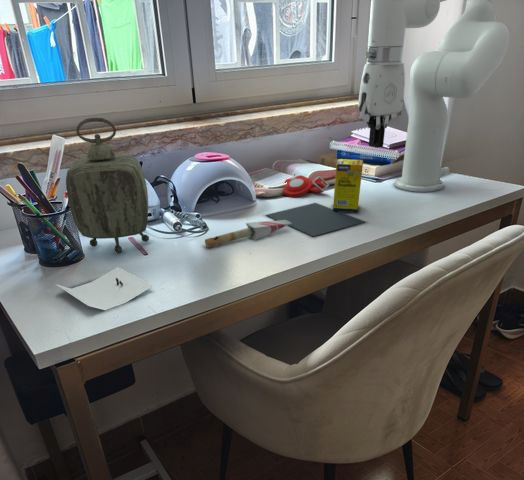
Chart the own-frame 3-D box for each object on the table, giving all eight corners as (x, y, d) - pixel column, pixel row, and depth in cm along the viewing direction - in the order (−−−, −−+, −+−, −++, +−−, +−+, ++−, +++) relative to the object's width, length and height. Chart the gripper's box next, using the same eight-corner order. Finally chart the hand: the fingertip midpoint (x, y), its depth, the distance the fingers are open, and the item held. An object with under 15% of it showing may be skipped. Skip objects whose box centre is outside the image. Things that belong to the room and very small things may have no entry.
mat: (315, 203, 125) (315, 202, 125) (365, 222, 113) (365, 221, 113) (266, 215, 119) (266, 214, 118) (313, 237, 106) (313, 236, 106)
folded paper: (154, 291, 86) (152, 281, 85) (90, 316, 79) (88, 305, 78) (118, 272, 94) (116, 262, 93) (57, 293, 87) (54, 283, 86)
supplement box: (357, 213, 118) (362, 164, 112) (332, 211, 119) (335, 163, 113) (358, 206, 123) (363, 159, 117) (334, 204, 124) (337, 158, 118)
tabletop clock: (154, 238, 108) (135, 112, 94) (154, 254, 100) (133, 119, 87) (86, 244, 106) (56, 116, 92) (80, 261, 99) (47, 124, 85)
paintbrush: (293, 217, 107) (209, 240, 100) (294, 229, 109) (211, 252, 102) (284, 212, 110) (201, 234, 103) (284, 224, 112) (203, 246, 104)
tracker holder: (284, 194, 129) (276, 176, 135) (287, 209, 132) (280, 190, 139) (329, 180, 128) (319, 162, 135) (331, 195, 132) (321, 177, 138)
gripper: (371, 58, 101) (363, 153, 111) (421, 55, 108) (409, 145, 118) (346, 57, 107) (341, 148, 117) (396, 54, 114) (386, 140, 123)
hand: (375, 146), depth 117 cm, fingers closed
